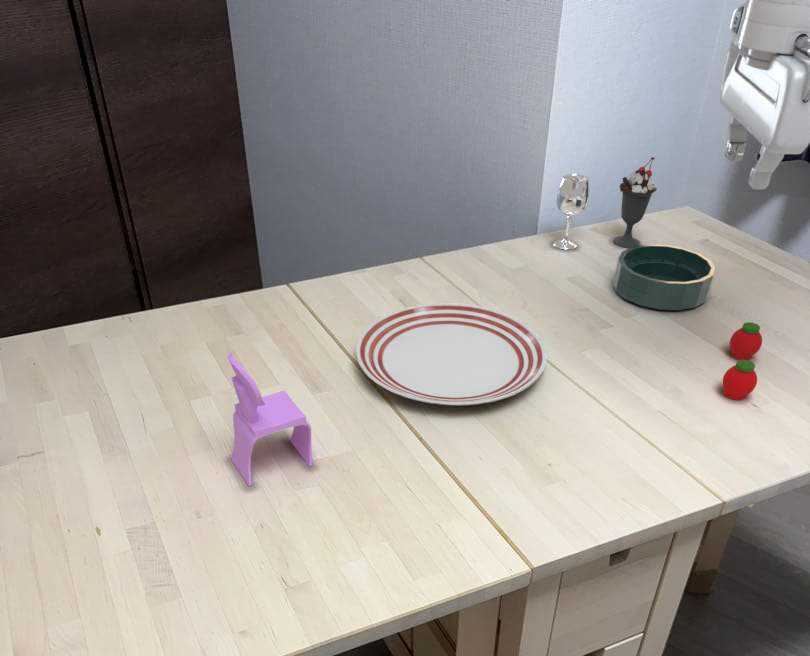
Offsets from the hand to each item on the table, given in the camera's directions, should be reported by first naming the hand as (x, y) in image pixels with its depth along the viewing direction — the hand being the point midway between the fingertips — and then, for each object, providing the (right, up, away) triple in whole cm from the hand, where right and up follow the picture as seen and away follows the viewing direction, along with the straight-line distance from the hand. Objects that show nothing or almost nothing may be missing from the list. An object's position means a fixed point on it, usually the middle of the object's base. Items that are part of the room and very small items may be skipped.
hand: (744, 172), depth 84 cm
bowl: (+5, +1, +44) cm, 44 cm away
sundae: (+4, +16, +59) cm, 61 cm away
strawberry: (+8, -21, +20) cm, 30 cm away
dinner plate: (-32, -16, +25) cm, 44 cm away
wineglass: (-8, +15, +58) cm, 60 cm away
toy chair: (-55, -32, +8) cm, 64 cm away
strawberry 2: (+12, -14, +28) cm, 34 cm away
